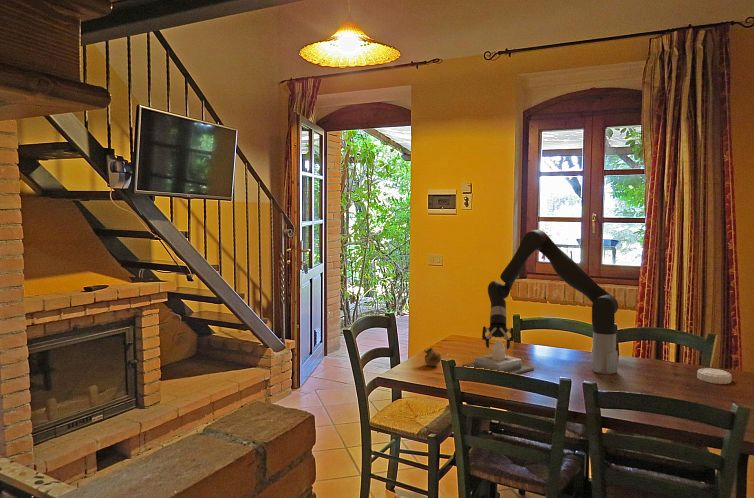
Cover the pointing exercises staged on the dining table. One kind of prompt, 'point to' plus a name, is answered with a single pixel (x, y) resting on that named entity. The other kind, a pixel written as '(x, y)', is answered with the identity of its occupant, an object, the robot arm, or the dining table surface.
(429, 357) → the onion
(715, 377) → the mooncake
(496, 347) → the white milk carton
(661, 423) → the dining table surface
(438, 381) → the dining table surface
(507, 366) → the socket
